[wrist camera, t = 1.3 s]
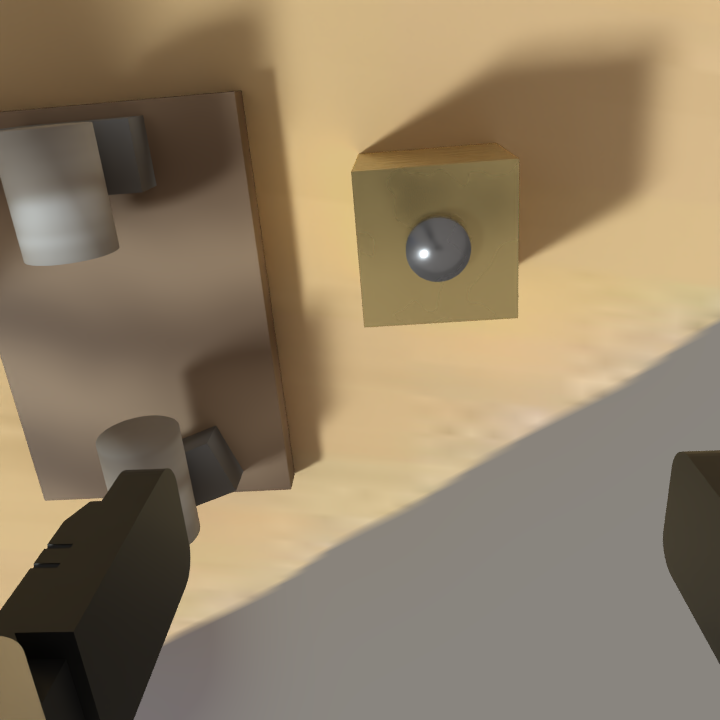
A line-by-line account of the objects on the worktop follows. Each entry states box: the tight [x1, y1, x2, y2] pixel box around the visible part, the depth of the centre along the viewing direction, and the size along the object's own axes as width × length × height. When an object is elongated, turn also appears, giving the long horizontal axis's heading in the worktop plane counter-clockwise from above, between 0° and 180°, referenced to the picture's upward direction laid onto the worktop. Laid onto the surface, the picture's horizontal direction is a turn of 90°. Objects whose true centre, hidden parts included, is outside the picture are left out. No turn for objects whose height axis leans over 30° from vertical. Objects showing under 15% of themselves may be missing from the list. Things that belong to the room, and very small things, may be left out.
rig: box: [0, 91, 295, 544], centre depth 25 cm, size 16×11×6 cm, turn 5°
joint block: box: [351, 143, 519, 327], centre depth 24 cm, size 5×5×5 cm
